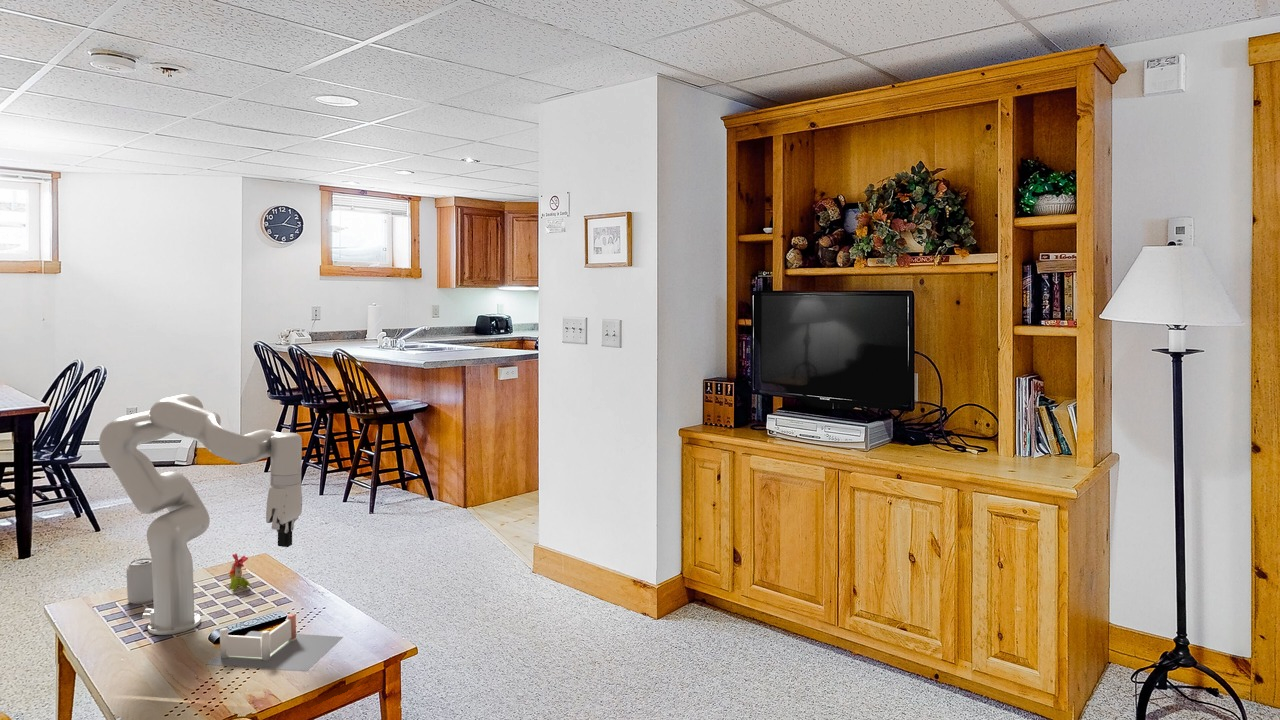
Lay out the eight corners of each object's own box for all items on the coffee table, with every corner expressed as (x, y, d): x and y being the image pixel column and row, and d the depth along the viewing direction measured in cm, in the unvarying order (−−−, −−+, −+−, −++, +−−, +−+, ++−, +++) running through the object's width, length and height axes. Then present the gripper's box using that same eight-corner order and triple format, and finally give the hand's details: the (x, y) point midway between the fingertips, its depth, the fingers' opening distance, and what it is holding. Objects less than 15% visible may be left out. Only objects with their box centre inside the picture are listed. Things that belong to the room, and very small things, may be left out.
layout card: (205, 666, 192) (205, 664, 192) (251, 633, 211) (250, 630, 211) (306, 673, 190) (306, 670, 190) (343, 639, 208) (343, 636, 208)
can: (147, 605, 227) (145, 565, 226) (121, 604, 228) (120, 564, 226) (163, 595, 235) (161, 556, 234) (138, 594, 235) (137, 556, 234)
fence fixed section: (218, 657, 195) (218, 630, 195) (223, 654, 197) (222, 627, 197) (267, 661, 194) (266, 634, 194) (271, 657, 196) (270, 630, 195)
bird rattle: (223, 594, 242) (231, 590, 236) (217, 558, 244) (226, 554, 238) (244, 589, 246) (253, 585, 240) (239, 554, 248) (248, 549, 242)
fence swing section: (272, 655, 196) (272, 632, 196) (265, 654, 197) (265, 631, 196) (297, 636, 207) (297, 614, 207) (290, 635, 207) (290, 613, 207)
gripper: (288, 471, 217) (287, 535, 218) (255, 484, 202) (254, 553, 204) (314, 474, 216) (312, 538, 217) (282, 487, 201) (281, 556, 203)
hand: (284, 545), depth 211 cm, fingers closed
